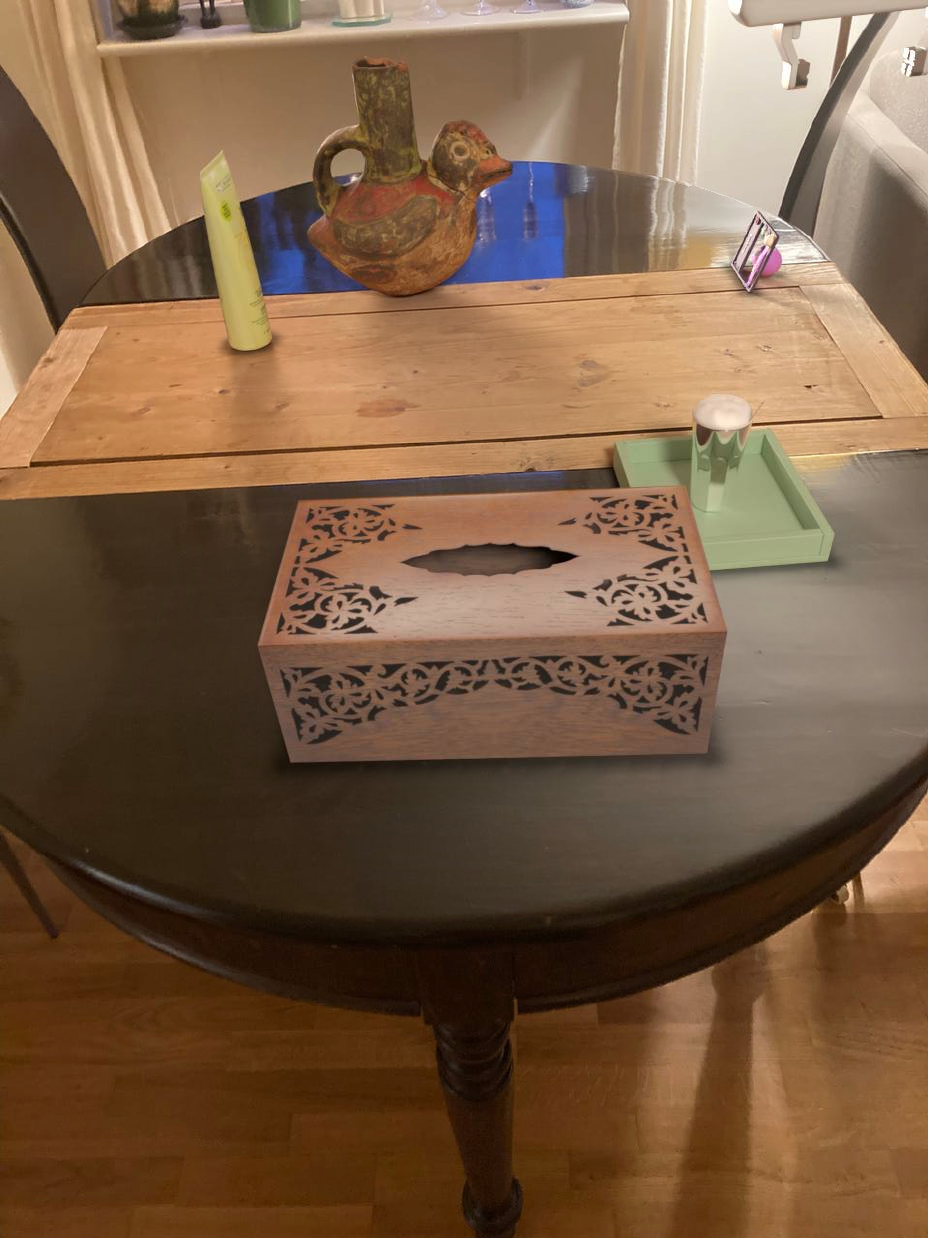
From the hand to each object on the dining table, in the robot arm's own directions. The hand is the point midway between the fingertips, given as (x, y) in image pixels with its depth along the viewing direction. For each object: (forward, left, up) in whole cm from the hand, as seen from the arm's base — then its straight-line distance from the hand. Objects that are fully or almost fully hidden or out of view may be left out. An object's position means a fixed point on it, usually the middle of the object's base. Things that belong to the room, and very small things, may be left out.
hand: (853, 81), depth 72 cm
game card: (-5, -28, -27) cm, 39 cm away
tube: (+56, -21, -27) cm, 65 cm away
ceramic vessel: (+37, -34, -27) cm, 57 cm away
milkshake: (+13, +19, -26) cm, 34 cm away
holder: (+13, +19, -27) cm, 35 cm away
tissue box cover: (+32, +36, -27) cm, 55 cm away
